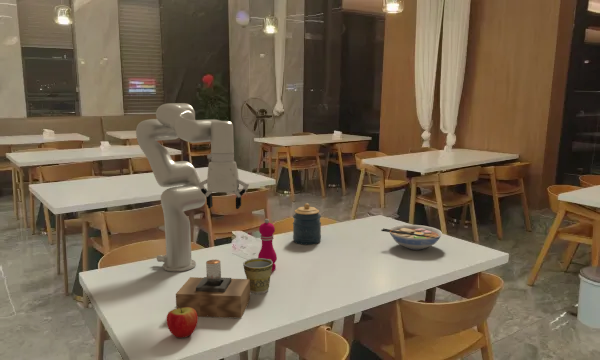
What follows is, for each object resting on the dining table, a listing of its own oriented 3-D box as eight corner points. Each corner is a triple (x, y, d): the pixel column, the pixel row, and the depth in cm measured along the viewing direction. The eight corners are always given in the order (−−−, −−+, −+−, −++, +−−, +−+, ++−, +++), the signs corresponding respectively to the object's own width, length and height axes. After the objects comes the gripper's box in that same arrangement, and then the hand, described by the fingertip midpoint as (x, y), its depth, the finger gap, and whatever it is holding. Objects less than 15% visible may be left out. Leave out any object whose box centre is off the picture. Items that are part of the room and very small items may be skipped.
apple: (161, 339, 136) (159, 305, 135) (179, 326, 144) (177, 293, 142) (186, 344, 133) (185, 309, 132) (203, 331, 141) (202, 297, 140)
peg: (205, 288, 154) (204, 263, 153) (209, 283, 158) (208, 259, 157) (219, 289, 153) (218, 264, 152) (222, 283, 158) (222, 259, 156)
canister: (295, 236, 236) (294, 200, 233) (322, 237, 234) (322, 200, 231) (290, 244, 223) (290, 206, 220) (319, 245, 221) (319, 207, 218)
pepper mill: (274, 273, 187) (273, 221, 184) (255, 271, 189) (254, 220, 185) (278, 266, 194) (278, 217, 191) (261, 265, 195) (260, 216, 192)
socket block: (176, 315, 151) (175, 290, 150) (191, 297, 165) (190, 273, 163) (241, 318, 149) (240, 292, 148) (250, 299, 163) (249, 275, 162)
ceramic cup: (261, 298, 164) (261, 269, 162) (237, 292, 169) (237, 264, 167) (283, 286, 174) (283, 258, 173) (260, 280, 180) (260, 254, 178)
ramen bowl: (450, 245, 221) (451, 227, 219) (434, 259, 202) (435, 240, 200) (397, 237, 234) (397, 220, 233) (377, 249, 215) (378, 231, 214)
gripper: (194, 159, 164) (196, 209, 166) (245, 159, 162) (246, 210, 165) (200, 156, 171) (202, 204, 174) (250, 157, 169) (251, 205, 172)
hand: (224, 207), depth 169 cm, fingers open, 9 cm apart
